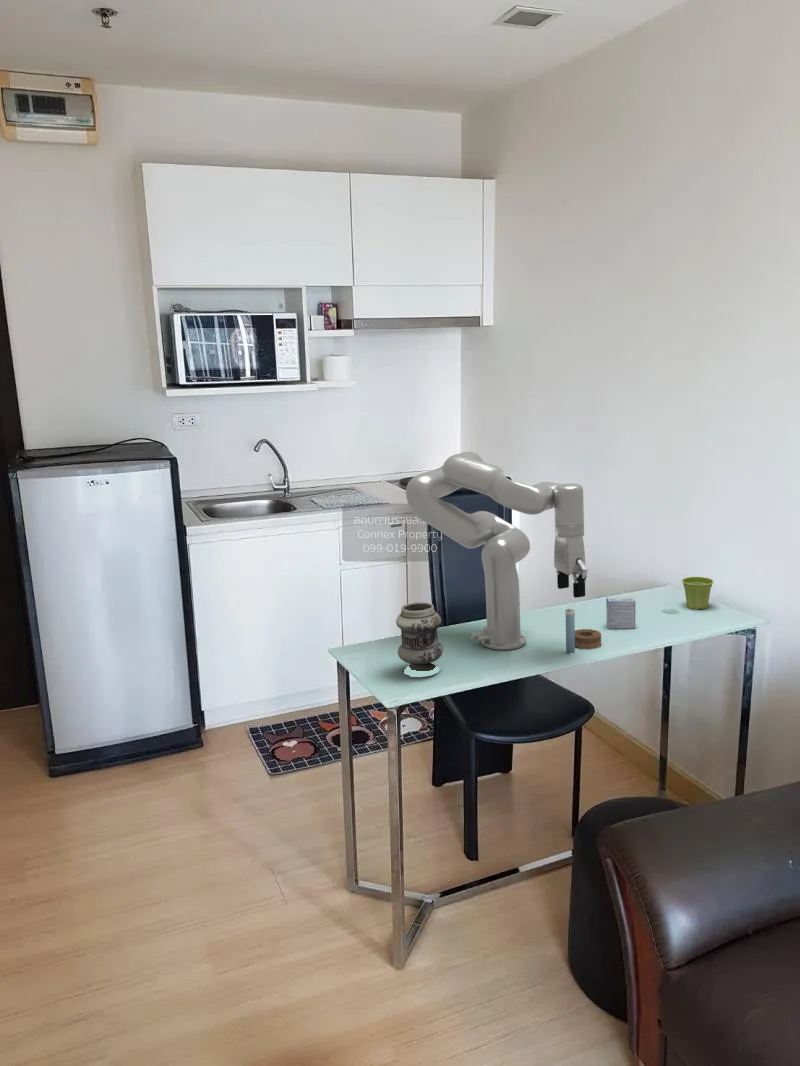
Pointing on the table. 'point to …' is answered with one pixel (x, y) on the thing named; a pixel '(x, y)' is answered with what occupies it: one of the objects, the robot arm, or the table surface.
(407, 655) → the apothecary jar
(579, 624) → the table surface
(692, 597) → the plant pot
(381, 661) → the table surface
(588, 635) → the bead
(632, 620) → the medicine box
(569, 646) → the blue grey cylinder
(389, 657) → the table surface
